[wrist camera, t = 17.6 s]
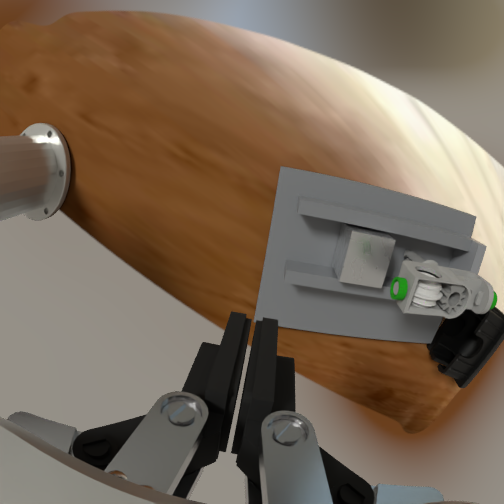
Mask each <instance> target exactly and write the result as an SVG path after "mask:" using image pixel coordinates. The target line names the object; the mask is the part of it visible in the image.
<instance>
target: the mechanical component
mask: <svg viewBox="0 0 504 504" xmlns="http://www.w3.org/2000/svg"><path fill="white" fill-rule="evenodd" d="M404 257H409V258H406V260H402V261H403V262H402V266H401V269H400V273H399V276H398V277H395V278H394V279H393V280H392V283H391V287H390V295H391V298H392V299H394V300H396V303H397V304H398V306H399V307H400V309H401V310H402V312H403V313H410V314H421V315H433V316H444V317H445V318H448V319H451V318H455V317H457V316H459V315H460V314H462V313H463V312H464V310H465V309H471V310H472V311H473V312H475V313H476V314H485V313H486V312H488V310H489V309H493V308H494V307H495V305H496V303H497V295H496V293H495V292H494V291H493V288H492V286H491V284H490V283H488V282H487V281H486V280H484V279H483V278H482V277H480V276H479V275H477V274H475V273H472V272H469V271H465V270H460V269H454V268H449V267H443V266H439V265H438V263H437V262H435V261H434V260H426V261H425V260H424V259H423V258H421V257H420V256H419V255H418V254H416V253H415V252H414V251H413V250H411V249H408V250H406V251H405V252H404ZM429 307H430V308H429Z"/></svg>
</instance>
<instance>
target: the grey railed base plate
mask: <svg viewBox="0 0 504 504" xmlns="http://www.w3.org/2000/svg"><path fill="white" fill-rule="evenodd" d="M475 220H476V216H473V215H471V214H468V213H465V212H462V211H459V210H456V209H453V208H450V207H447V206H444V205H441V204H437V203H434V202H431V201H428V200H424V199H421V198H418V197H414V196H411V195H407V194H403V193H400V192H396V191H392V190H389V189H385V188H381V187H377V186H373V185H369V184H365V183H361V182H357V181H352V180H348V179H343V178H339V177H334V176H330V175H325V174H320V173H315V172H310V171H305V170H299V169H294V168H288V167H283V166H281V168H280V174H279V180H278V186H277V192H276V198H275V204H274V210H273V216H272V222H271V228H270V233H269V239H268V245H267V251H266V256H265V262H264V268H263V273H262V279H261V284H260V290H259V296H258V301H257V307H256V312H255V317H254V322H256V320H259V321H262V320H263V317H265V318H271V319H277V320H278V326H281V327H287V328H293V329H300V330H307V331H313V332H321V333H328V334H336V335H344V336H352V337H361V338H370V339H380V340H391V341H402V342H415V343H430V344H431V342H432V340H433V338H434V336H435V334H436V332H437V330H438V327H439V325H440V323H441V321H442V318H443V316H433V315H421V314H410V313H403V312H402V310H401V309H400V307H399V306H398V304H397V303H396V300H394V299H392V298H391V295H390V287H391V283H392V280H393V279H394V278H395V277H398V276H399V273H400V269H401V266H402V262H403V261H402V260H406V258H409V257H404V252H405V251H406V250H408V249H411V250H413V251H414V252H415V253H416V254H418V255H419V256H420V257H421V258H423V259H424V260H425V261H426V260H434V261H435V262H437V263H438V265H439V266H443V267H449V268H454V269H460V270H465V271H469V272H472V273H475V274H477V275H478V272H479V269H480V266H481V263H482V260H483V256H484V253H485V250H486V246H485V245H483V244H482V243H480V242H478V241H476V240H474V239H472V238H471V236H472V232H473V228H474V224H475ZM342 222H344V223H348V224H353V225H358V226H363V227H367V228H372V229H377V230H381V231H385V232H386V233H387V234H388V235H390V236H391V237H392V238H394V239H395V240H396V241H395V245H394V249H393V252H392V256H391V259H390V263H389V266H388V269H387V273H386V276H385V279H384V282H383V285H382V288H376V287H370V286H364V285H357V284H351V283H345V282H339V280H338V278H337V275H336V273H335V271H334V268H333V266H332V263H333V259H334V255H335V251H336V246H337V242H338V238H339V234H340V229H341V225H342ZM429 308H430V307H429Z"/></svg>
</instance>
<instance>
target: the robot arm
mask: <svg viewBox="0 0 504 504" xmlns="http://www.w3.org/2000/svg"><path fill="white" fill-rule="evenodd" d="M70 173H71V165H70V155H69V150H68V147H67V144H66V141H65V139H64V137H63V135H62V134H61V133H60V131H59V130H58V129H57V128H55V127H54V126H53V125H50V124H46V123H37V124H33V125H31V126H29V127H28V128H27V129H25V130H24V131H23V132H22V134H21V135H20V136H4V137H0V221H2V220H6V219H8V218H11V217H14V216H17V215H20V214H23V215H25V216H26V217H27V218H29V219H32V220H43V219H46V218H49V217H51V216H52V215H54V214H55V213H56V212H57V211H58V210H59V208H60V207H61V205H62V204H63V202H64V200H65V197H66V194H67V191H68V187H69V183H70ZM251 320H252V319H248V318H246V314H243V313H237V312H231V314H230V317H229V320H228V323H227V326H226V329H225V332H224V335H223V339H222V341H221V344H220V345H216V344H211V343H206V342H203V343H202V344H201V347H200V349H199V352H198V354H197V356H196V358H195V361H194V363H193V365H192V368H191V370H190V373H189V375H188V378H187V380H186V382H185V384H184V387H183V389H182V391H181V392H177V391H176V392H171V393H167V394H165V395H163V396H162V397H161V398H159V399H158V400H157V402H156V403H155V404H154V406H153V407H152V408H151V410H150V411H149V412H148V414H146V415H143V416H140V417H136V418H133V419H129V420H126V421H122V422H118V423H115V424H110V425H106V426H102V427H98V428H94V429H90V430H87V431H84V432H80V431H77V429H76V428H75V427H71V426H68V425H64V424H61V423H57V422H54V421H51V420H48V419H44V418H41V417H38V416H36V415H33V414H30V413H26V412H15V413H14V414H12V415H10V416H9V417H8V419H7V420H6V419H4V418H2V417H0V504H205V503H200V502H196V501H192V500H189V498H190V496H191V494H192V492H193V490H194V488H195V486H196V484H197V482H198V480H199V478H200V476H201V474H202V472H203V469H204V467H205V466H207V465H209V464H212V463H214V462H215V461H216V459H217V458H218V454H219V451H223V452H226V448H227V443H228V439H229V434H230V429H231V424H232V419H233V414H234V410H235V405H236V400H237V395H238V390H239V385H240V380H241V375H242V370H243V364H244V359H245V353H246V348H247V343H248V337H249V331H250V326H251ZM277 337H278V320H277V319H271V318H265V317H263V320H262V321H259V320H256V325H255V331H254V336H253V341H252V346H251V351H250V357H249V362H248V367H247V372H246V377H245V383H244V388H243V393H242V399H241V404H240V409H239V414H238V420H237V425H236V430H235V435H234V441H233V446H232V451H231V453H233V454H237V460H236V463H237V466H238V467H239V468H240V470H241V471H242V472H244V474H245V498H246V504H477V503H473V502H466V501H444V499H443V495H442V494H441V493H440V492H439V491H438V490H437V489H435V488H431V487H416V486H415V487H414V486H397V485H386V484H378V485H377V486H371V485H369V484H368V483H367V482H366V481H365V480H364V479H362V478H361V477H359V476H358V475H357V474H355V473H354V472H352V471H351V470H350V469H348V468H347V467H346V466H344V465H343V464H342V463H340V462H339V461H338V460H336V459H335V458H333V457H332V456H331V455H330V454H328V453H327V452H326V451H324V450H323V449H322V448H321V447H319V445H318V442H317V438H316V434H315V430H314V428H313V425H312V423H311V422H310V421H309V420H308V419H307V418H306V417H304V416H303V415H301V414H299V413H296V412H295V366H294V358H289V357H283V356H277Z"/></svg>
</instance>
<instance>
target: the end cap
mask: <svg viewBox="0 0 504 504" xmlns="http://www.w3.org/2000/svg"><path fill="white" fill-rule="evenodd" d="M503 340H504V314H503V313H502V312H501V311H500V310H499V309H497V308H496V307H494V308H493V309H489V310H488V312H486V313H485V314H476V313H475V312H473V311H472V310H471V309H465V310H464V312H463V313H462V314H460V315H459V316H457V317H455V318H451V319H448V318H446V319H445V321H444V322H443V323H442V325H441V326H440V328H439V329H438V330H437V332H436V334H435V336H434V338H433V340H432V342H431V344H430V343H428V344H427V348H428V349H429V350H430V355H431V357H432V360H434V361H436V362H439V363H441V364H443V365H445V366H443V365H441V364H439V365H438V366H437V367H438V370H439V371H440V372H441V373H443V374H445V375H448V376H450V377H453V378H454V380H455V381H456V383H457V385H458V386H459V387H460V388H465V387H466V386H467V385H468V384H469V383H470V382H471V381H472V380H473V378H474V377H475V376H476V375H477V374H478V372H479V371H480V370H481V369H482V368H483V366H484V365H485V364H486V363H487V361H488V360H489V359H490V357H491V356H492V355H493V354H494V352H495V351H496V350H497V348H498V347H499V345H500V344H501V343H502V341H503Z"/></svg>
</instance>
